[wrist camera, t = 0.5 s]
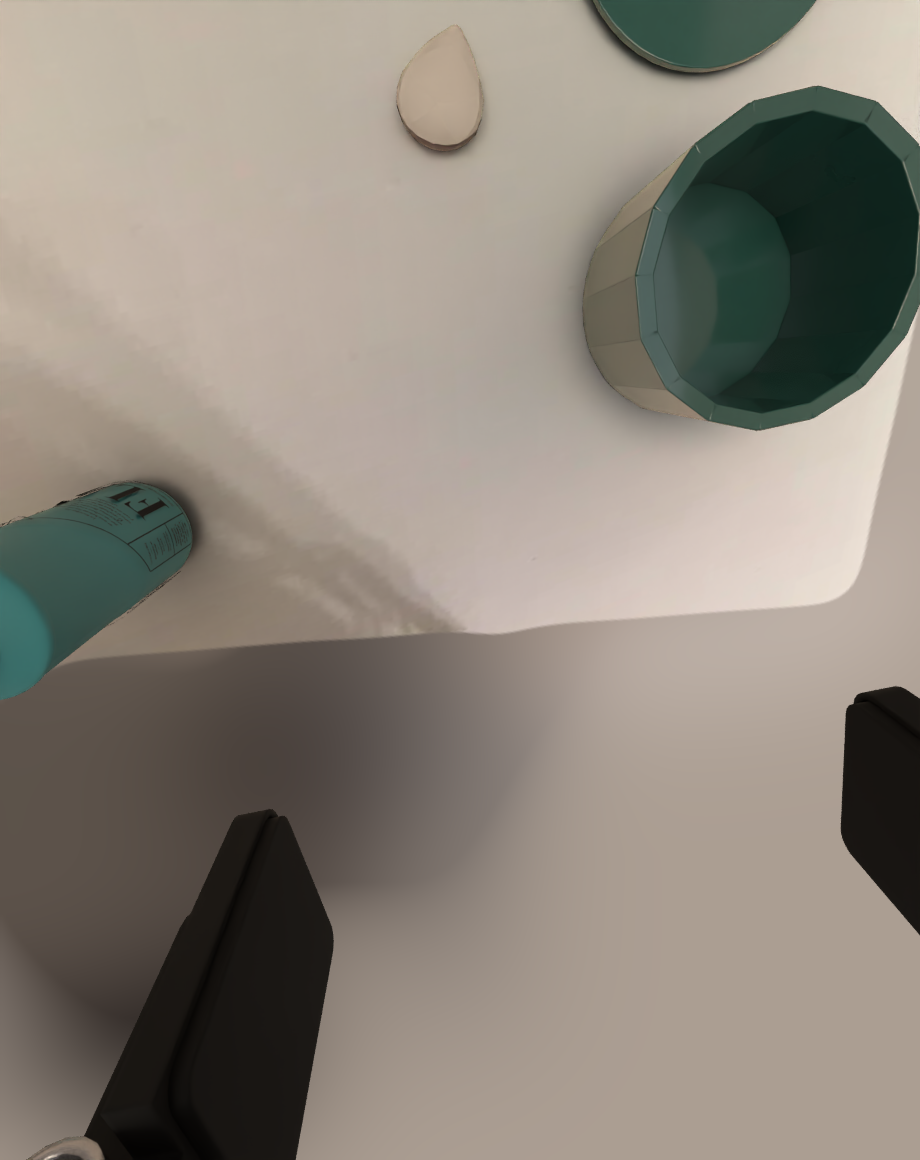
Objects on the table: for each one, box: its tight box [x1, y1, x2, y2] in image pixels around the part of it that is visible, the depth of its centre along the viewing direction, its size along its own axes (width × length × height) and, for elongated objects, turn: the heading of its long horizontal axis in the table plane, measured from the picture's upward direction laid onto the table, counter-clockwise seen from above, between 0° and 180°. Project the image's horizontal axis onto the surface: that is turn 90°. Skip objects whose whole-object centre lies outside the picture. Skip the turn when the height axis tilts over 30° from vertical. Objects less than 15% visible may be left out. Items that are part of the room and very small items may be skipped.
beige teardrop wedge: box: [396, 25, 484, 151], centre depth 28 cm, size 4×5×2 cm
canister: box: [583, 86, 920, 431], centre depth 28 cm, size 13×13×10 cm
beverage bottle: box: [0, 481, 192, 700], centre depth 27 cm, size 6×7×20 cm
